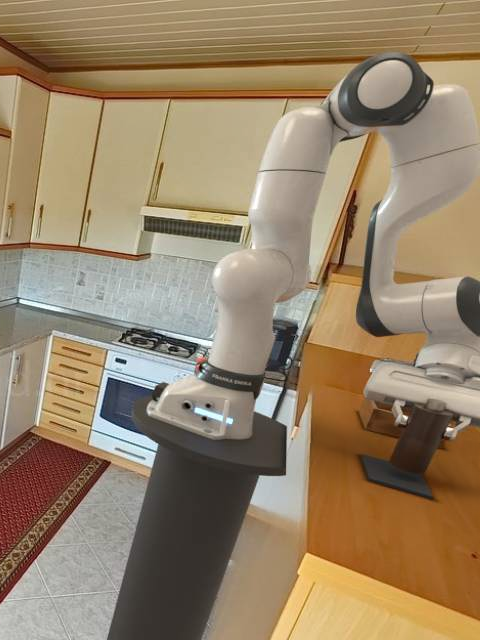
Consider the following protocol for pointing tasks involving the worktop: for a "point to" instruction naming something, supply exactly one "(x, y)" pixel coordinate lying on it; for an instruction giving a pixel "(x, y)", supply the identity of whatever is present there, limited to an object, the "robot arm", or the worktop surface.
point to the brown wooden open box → (383, 419)
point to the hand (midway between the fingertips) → (423, 432)
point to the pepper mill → (421, 436)
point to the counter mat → (395, 477)
